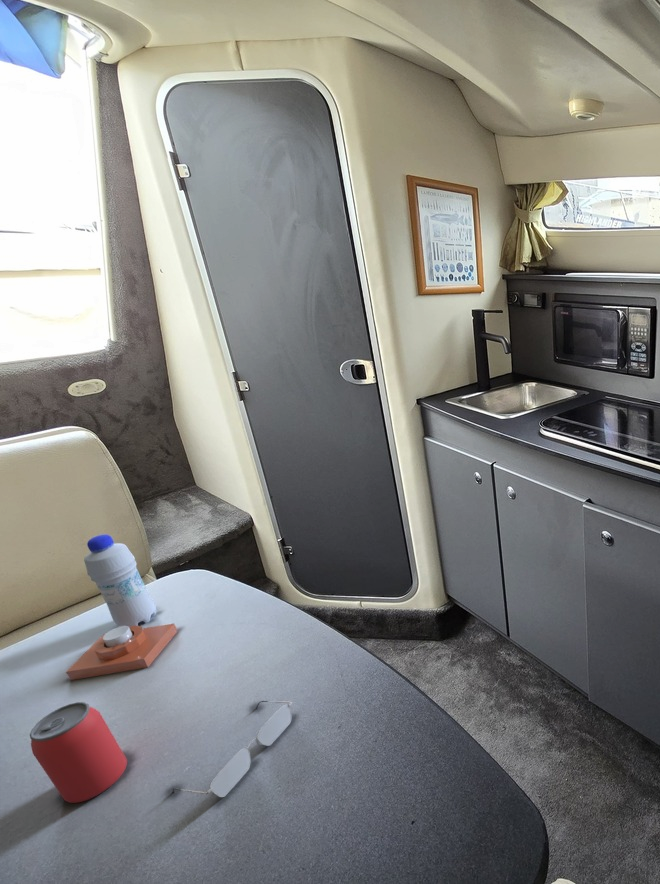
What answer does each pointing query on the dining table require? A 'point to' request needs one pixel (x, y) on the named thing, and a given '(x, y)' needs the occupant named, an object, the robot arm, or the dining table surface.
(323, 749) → the dining table surface
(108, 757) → the beer can
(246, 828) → the dining table surface
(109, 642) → the white push button
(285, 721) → the eyeglasses
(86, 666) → the orange button base
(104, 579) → the bottle
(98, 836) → the dining table surface
